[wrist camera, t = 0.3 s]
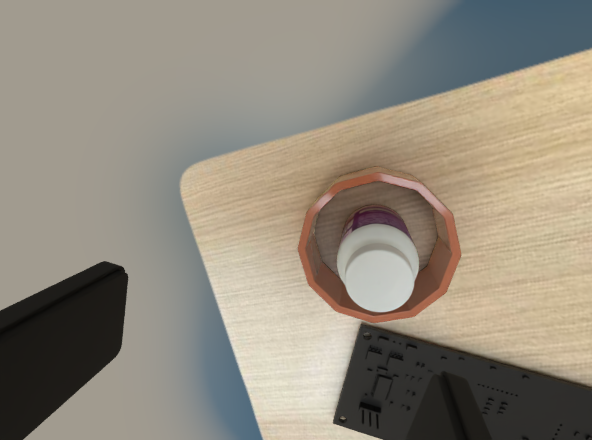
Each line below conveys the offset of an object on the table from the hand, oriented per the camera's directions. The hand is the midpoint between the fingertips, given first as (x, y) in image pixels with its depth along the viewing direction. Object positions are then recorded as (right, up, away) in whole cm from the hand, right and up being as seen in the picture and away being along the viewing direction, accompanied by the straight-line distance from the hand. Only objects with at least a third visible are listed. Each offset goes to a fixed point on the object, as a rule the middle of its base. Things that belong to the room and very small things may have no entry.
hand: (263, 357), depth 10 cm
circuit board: (+18, -15, +21) cm, 31 cm away
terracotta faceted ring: (+8, +3, +19) cm, 20 cm away
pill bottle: (+8, +3, +19) cm, 21 cm away
